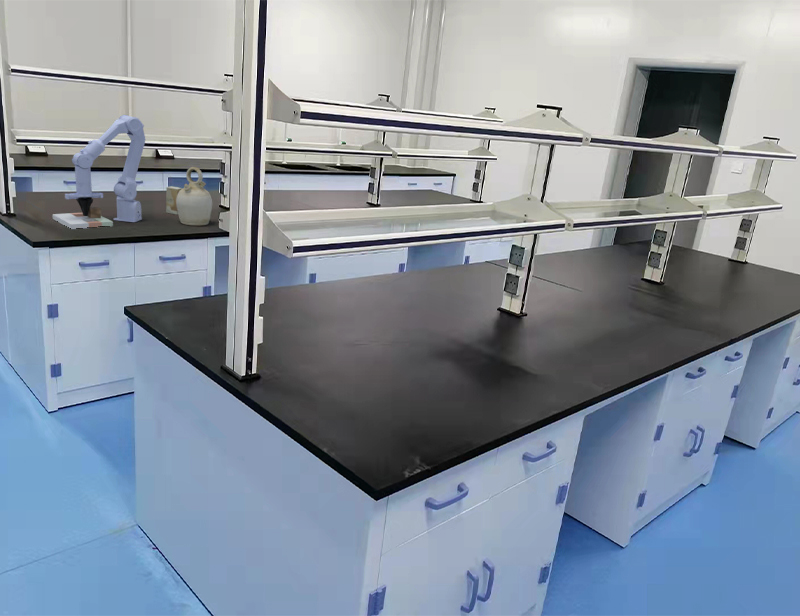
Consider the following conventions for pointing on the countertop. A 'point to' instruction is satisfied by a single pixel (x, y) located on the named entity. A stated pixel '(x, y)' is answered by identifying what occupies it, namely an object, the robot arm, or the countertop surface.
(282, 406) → the countertop surface
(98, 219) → the trap board
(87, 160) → the robot arm
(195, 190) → the jug
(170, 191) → the skincare box
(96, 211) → the walnut block
